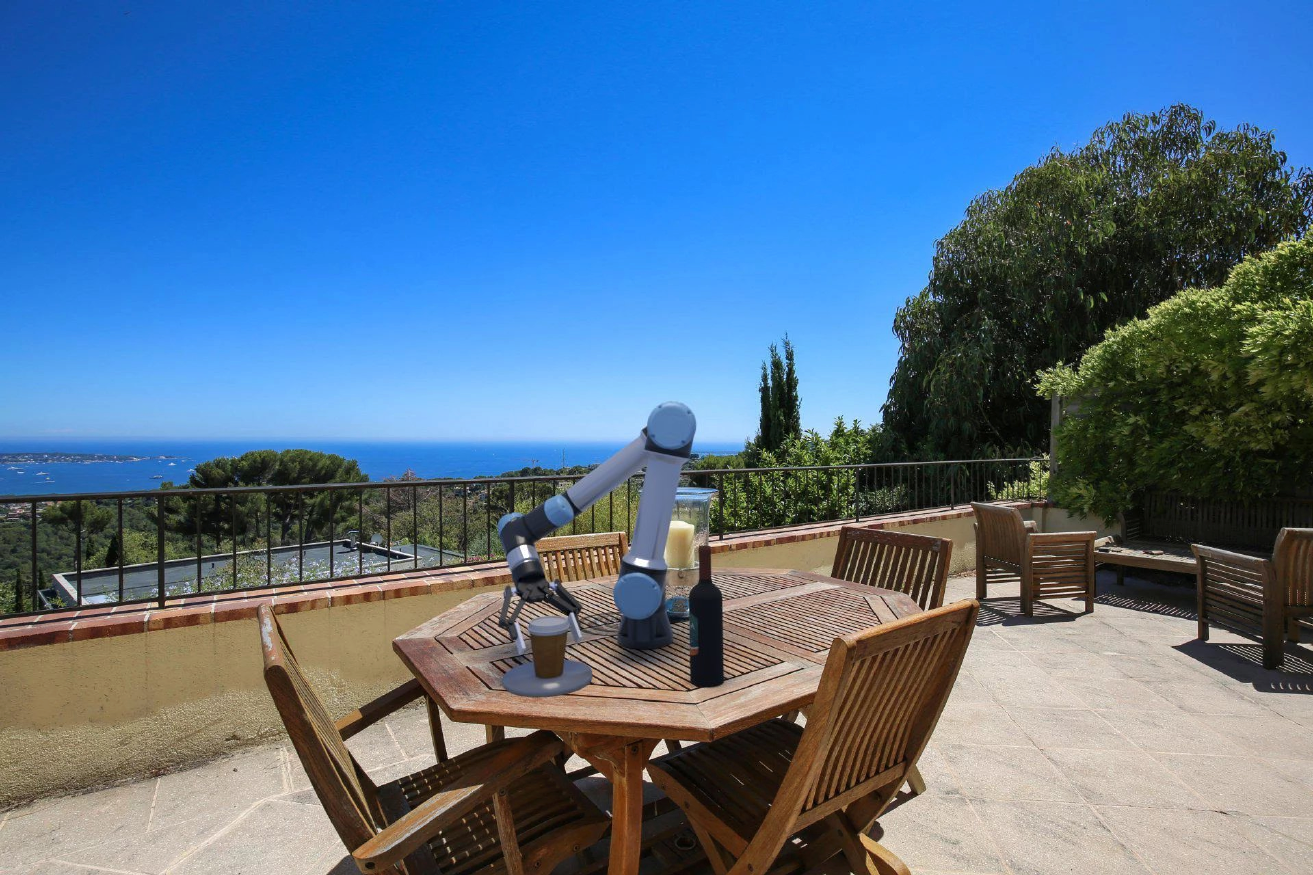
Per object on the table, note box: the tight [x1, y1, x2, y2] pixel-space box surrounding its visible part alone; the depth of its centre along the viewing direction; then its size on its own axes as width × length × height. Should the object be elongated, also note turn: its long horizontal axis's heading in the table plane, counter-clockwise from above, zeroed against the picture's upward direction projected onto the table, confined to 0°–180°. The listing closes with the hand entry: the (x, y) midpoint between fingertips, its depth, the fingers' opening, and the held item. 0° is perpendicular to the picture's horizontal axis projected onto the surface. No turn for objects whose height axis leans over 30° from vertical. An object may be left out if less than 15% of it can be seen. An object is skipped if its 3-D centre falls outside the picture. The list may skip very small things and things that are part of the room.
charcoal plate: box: [502, 659, 593, 698], centre depth 142 cm, size 20×20×1 cm
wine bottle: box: [688, 545, 725, 688], centre depth 140 cm, size 8×8×30 cm
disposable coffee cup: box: [526, 615, 570, 678], centre depth 142 cm, size 10×10×12 cm
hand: (551, 645), depth 140 cm, fingers open, 13 cm apart
